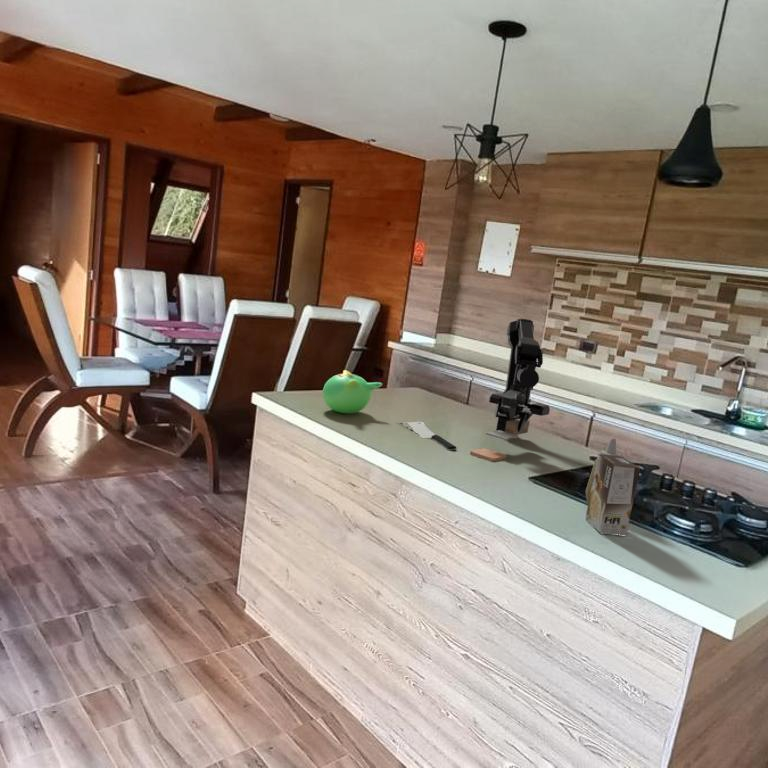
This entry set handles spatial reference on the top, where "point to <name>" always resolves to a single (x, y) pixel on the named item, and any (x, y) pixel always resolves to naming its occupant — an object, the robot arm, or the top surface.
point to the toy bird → (348, 392)
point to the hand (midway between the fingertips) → (514, 430)
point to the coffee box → (612, 494)
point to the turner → (510, 430)
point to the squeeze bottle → (609, 451)
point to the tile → (488, 454)
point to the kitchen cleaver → (430, 435)
